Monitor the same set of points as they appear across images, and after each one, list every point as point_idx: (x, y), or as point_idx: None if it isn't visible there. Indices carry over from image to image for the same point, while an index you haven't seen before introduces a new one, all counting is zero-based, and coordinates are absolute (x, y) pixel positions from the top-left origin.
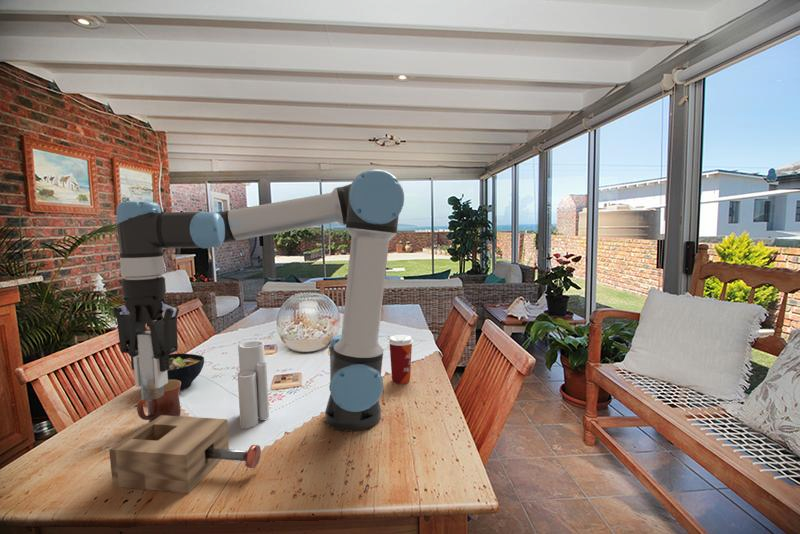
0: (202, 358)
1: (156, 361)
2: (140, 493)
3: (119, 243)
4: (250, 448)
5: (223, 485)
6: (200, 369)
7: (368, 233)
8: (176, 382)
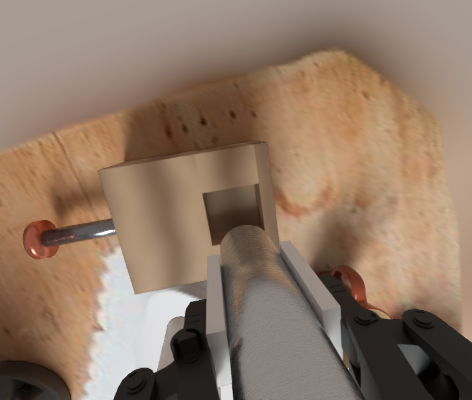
0: None
1: (207, 320)
2: (197, 140)
3: None
4: (30, 242)
5: (87, 191)
6: None
7: None
8: None
